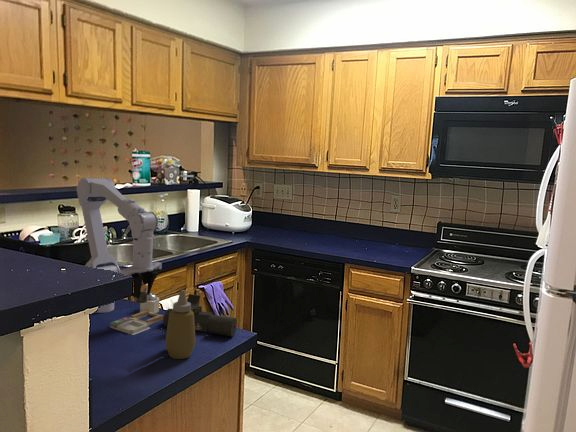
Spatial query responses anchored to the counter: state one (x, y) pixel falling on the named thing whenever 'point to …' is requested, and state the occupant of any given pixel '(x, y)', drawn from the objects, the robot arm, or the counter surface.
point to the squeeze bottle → (180, 329)
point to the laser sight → (207, 319)
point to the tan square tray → (145, 313)
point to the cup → (150, 306)
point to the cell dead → (151, 297)
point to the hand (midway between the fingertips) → (141, 295)
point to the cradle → (129, 326)
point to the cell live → (143, 293)
